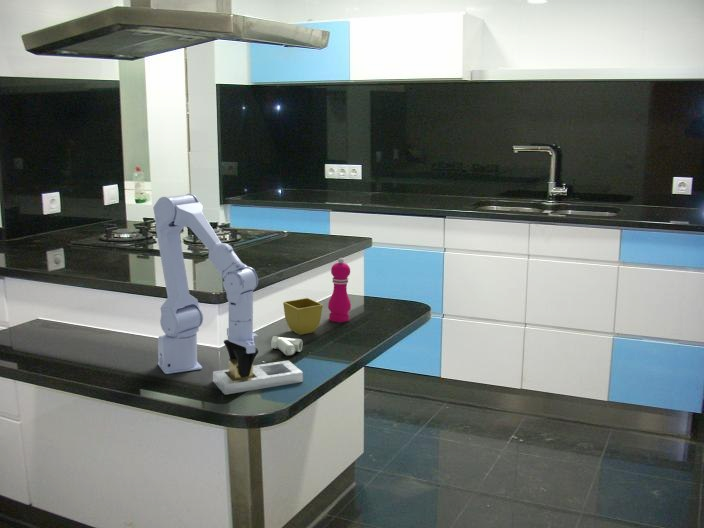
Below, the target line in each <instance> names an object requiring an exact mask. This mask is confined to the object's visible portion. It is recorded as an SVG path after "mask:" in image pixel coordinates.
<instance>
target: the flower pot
mask: <svg viewBox="0 0 704 528" xmlns="http://www.w3.org/2000/svg"><path fill="white" fill-rule="evenodd" d="M282 304H283V305H282V306H283V311H284V319H285V321H286V324H287V326H288V327H289V329H290V330H292V331H291V332H293V331H294V333H295V334H297V335H298V336H302V335H305V334H312V333H314V332H316V330H317V328H318V327H319V324H320V321H321V318H322V311H323V307H324V306H323V303H320V302H318V301H315V300H313V299H311V298H309V297H305V298H298V299H294V300H287V301H282Z"/></svg>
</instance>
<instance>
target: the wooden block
mask: <svg viewBox="0 0 704 528" xmlns="http://www.w3.org/2000/svg"><path fill="white" fill-rule="evenodd" d="M253 366H254V363H253V364H252V367H251V371H250V375H249V376H247V377H240V374H239V367H238V361H237V358H236V359H230V358H229V359H228V369H229V378H230V379H231V380H232V381H236V380H243V379H249V378H253Z"/></svg>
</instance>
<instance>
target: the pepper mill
mask: <svg viewBox="0 0 704 528" xmlns="http://www.w3.org/2000/svg"><path fill="white" fill-rule="evenodd" d="M337 261H338V262H337V263H334V264H333V265H332V266H331V269H330V272H331V273H330V274H331V275H332V276H333V277H332V280H331V281H332V284H333V290H332V294H331V296H330V298H329V301H328V304H327V305H328V306H327V308H328V310H329V311H330V313H329V317H328V318H329V321H331V322H335V323H346V322H348V321H349V320H350V314H349V312H350V311H351V309H352V304H351V300H350V297H349V295H348V291H347V286H348V283H349V276H350V274H351V268H350V266H349V265H348V264H347V263H346V262H345V260H344V258H343V257H339V258H338V260H337Z"/></svg>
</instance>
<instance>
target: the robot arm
mask: <svg viewBox="0 0 704 528" xmlns="http://www.w3.org/2000/svg"><path fill="white" fill-rule="evenodd" d="M203 206H204V205H203V204H202V203H201V202H200V201H199V198H198V197H197V196H196V195H195V194H194V193H187V194H181V195H180V194H179V195H173V196H172V195H171V196H161V197H159V198H158V200H156V202H155V204H154V206H153V213H154V214H153V215H154V219H155V231H156V238H157V244H158V250H159V256H160V261H161V267H162V273H163V278H164V285H165V290H166V294H167V295H166V296H167V298H166V299H165V301H164V302H163V303H162V305H161V306H160V314H161V315H160V318H159V319H160V322H159V323H160V327H161V330H162V331H163V333H164V335H159V336H158V339H157V356H158V357H157V358H158V362H157V365H158V366H159V368H160V370H162V372H163V374H165V375H169V374H176V373H183V372H190V371H197V370H202V369H203V366H202V365H201V364H200V362H198V344H197V343H198V340H197V339H198V337H197V333H198V332H199V331H200V330H199V328H200V327H201V326H202V325H203V322H204V313H203V311H202V310H201V307H200V305H199V300H198V298H196V297H195V296H193V295H191V294H190V287H189V283H188V277H187V271H186V266H185V259H184V252H183V247H182V240H181V234H180V233H181V232H182V230H183V229H184V228H189V229H190V230H191V231H192V232H193V233H194V235H195V236H196V237H197V238H198V240H200V242H201V243H202V244H203V246H205V247H206V249H207V250H208V259H209V261H210V262H211V264H212V265H213V266H214V267H215V269H216V270H217V272H218V273H219V275H220V276H221V277H222V279H223V281H222V287H223V289H224V291H225V293H226V299H227V302H228V327H227V328H226V336H227V339H224V340H223V343H224V346H225V347H226V350H227V352H228V356H229V359H236V358H237V361H238V367H239V374H240V377H247V376H249V375H250V371H251V367H252V364H253V365H254V360H255V358H256V356H257V355H258V353H259V349H258V348H257V347H256V344H255V341H254V339H257V338H258V334H257V333H255V332H254V322H253V321H254V315H253V314H254V290H255V289H256V288H257V287H258V285H259V277H258V274H257V272H256V270H255V268H253V267H251V266H248V265H247V264H246V263H243V261H241V259H240V258H239V257H238V255H237V254H236V252H235V251H234V248H233V246H232V245H230V244H228V243H225V242H222V241H221V240H220V238H219V237H218V235H217V234H216V232H215V230H214V228H213V227H212V226H211V224H210V222H209V221H208V220H207V218H206V216H205V214H204V213H203V211H204V207H203Z"/></svg>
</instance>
